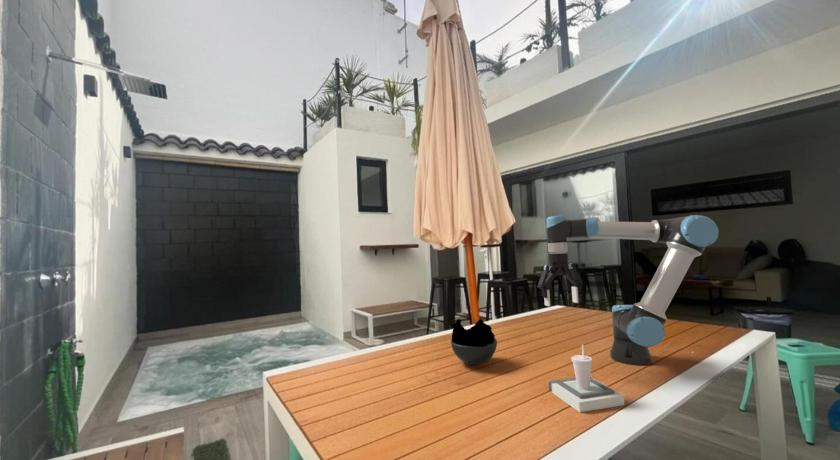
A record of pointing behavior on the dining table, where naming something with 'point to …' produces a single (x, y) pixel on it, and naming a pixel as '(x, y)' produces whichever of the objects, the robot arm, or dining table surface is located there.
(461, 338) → the bowl of black rocks
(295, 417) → the dining table surface
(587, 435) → the dining table surface
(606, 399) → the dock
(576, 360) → the smoothie
